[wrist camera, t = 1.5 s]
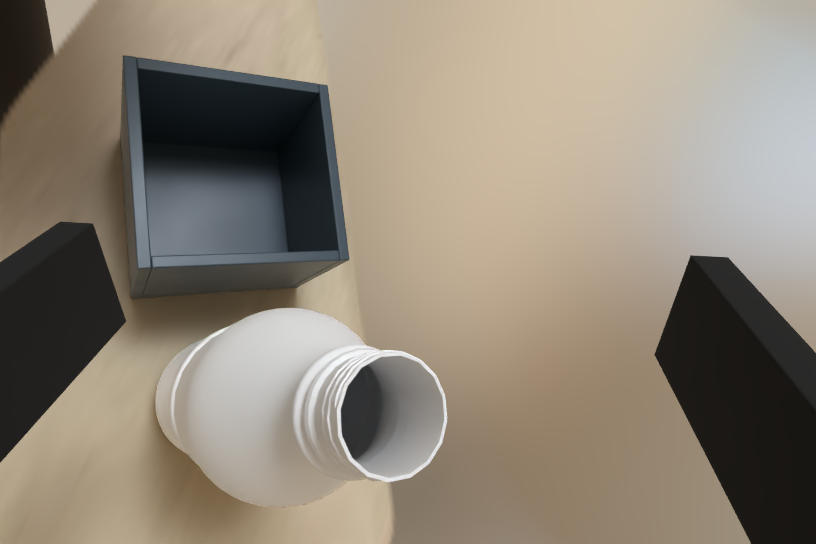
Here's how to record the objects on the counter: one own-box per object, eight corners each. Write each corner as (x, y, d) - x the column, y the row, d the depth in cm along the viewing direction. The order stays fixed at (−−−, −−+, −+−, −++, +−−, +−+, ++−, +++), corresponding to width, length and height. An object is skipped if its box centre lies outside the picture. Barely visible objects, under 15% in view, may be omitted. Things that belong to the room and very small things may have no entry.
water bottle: (276, 347, 36) (518, 294, 14) (259, 455, 34) (507, 576, 13) (165, 331, 32) (267, 232, 11) (139, 450, 30) (204, 602, 9)
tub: (130, 299, 32) (137, 268, 23) (120, 137, 33) (122, 54, 25) (296, 287, 37) (349, 259, 29) (281, 149, 39) (327, 84, 30)
